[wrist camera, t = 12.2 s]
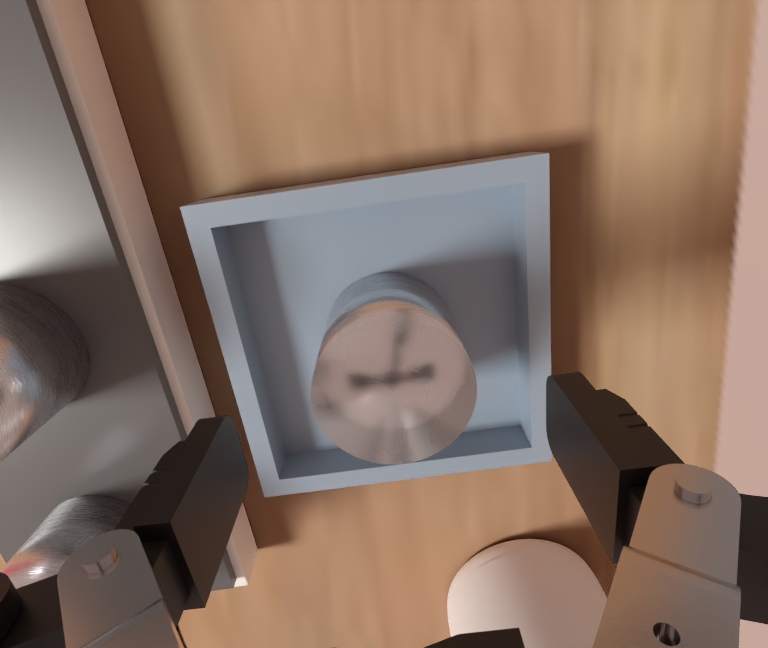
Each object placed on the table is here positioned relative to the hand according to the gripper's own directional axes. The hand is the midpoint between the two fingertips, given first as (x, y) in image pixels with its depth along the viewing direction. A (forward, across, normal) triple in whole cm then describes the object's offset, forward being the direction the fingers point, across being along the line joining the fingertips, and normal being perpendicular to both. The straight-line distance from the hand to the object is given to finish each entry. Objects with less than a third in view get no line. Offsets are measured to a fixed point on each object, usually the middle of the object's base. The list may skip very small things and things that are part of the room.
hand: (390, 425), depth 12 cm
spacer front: (+7, 0, 0) cm, 7 cm away
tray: (+8, 0, 0) cm, 8 cm away
